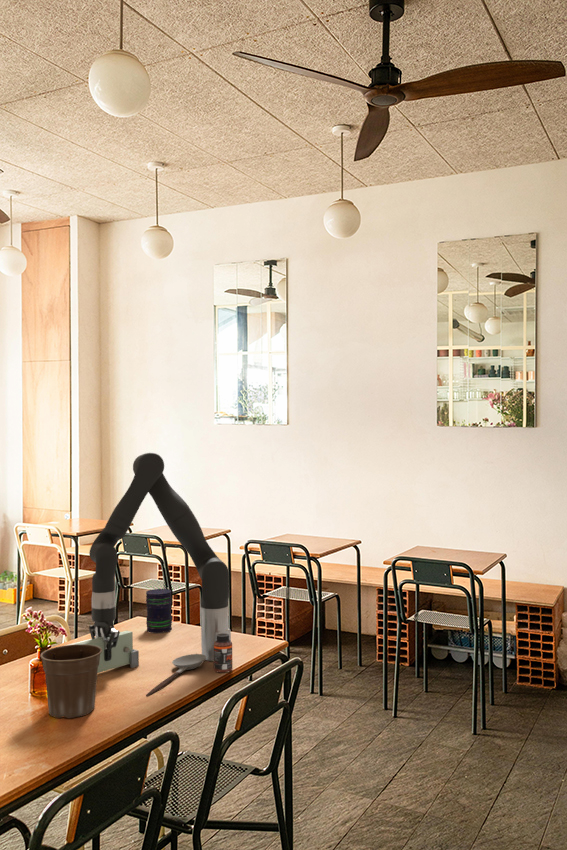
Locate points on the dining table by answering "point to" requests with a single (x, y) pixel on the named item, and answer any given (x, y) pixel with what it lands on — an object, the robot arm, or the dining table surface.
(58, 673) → the plant pot
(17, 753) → the dining table surface
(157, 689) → the spoon
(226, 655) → the supplement bottle
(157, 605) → the dark blue barrel
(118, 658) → the door
